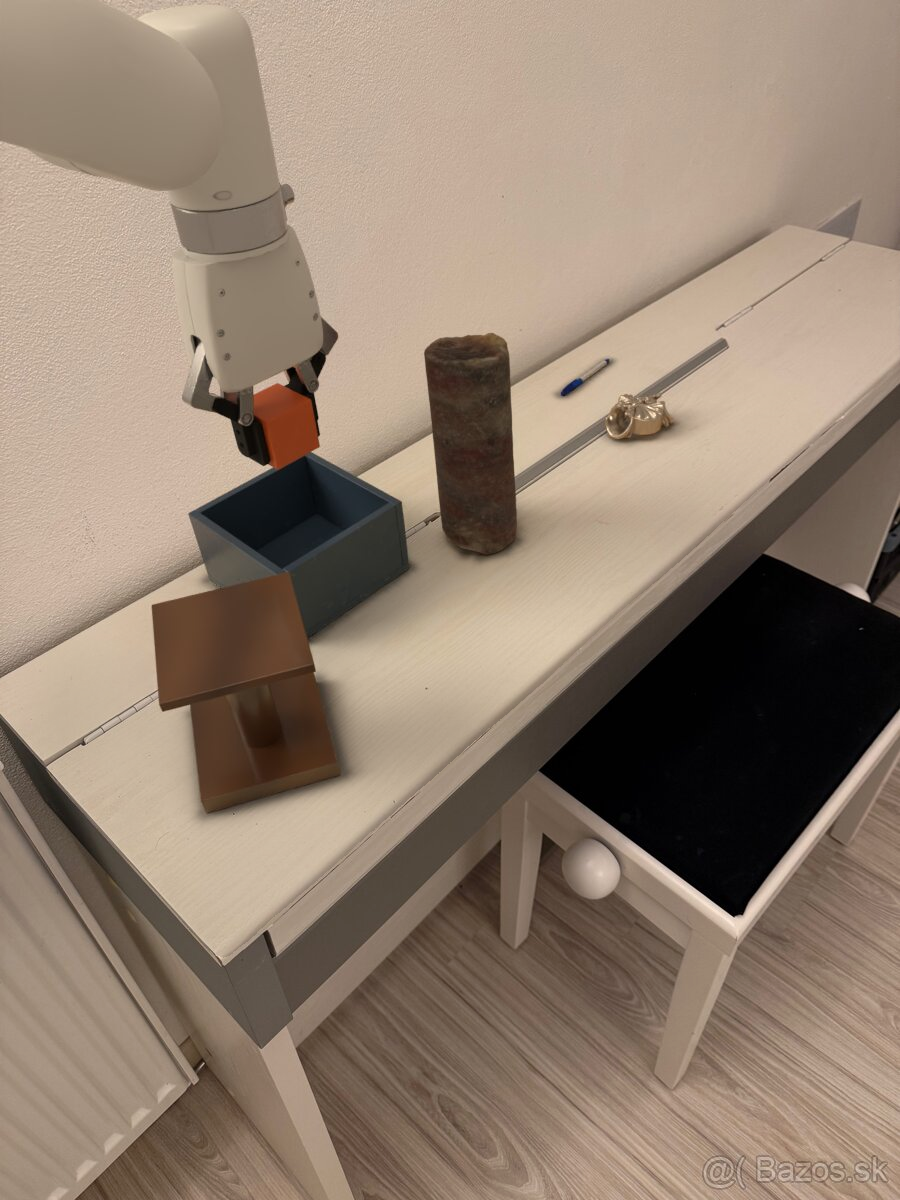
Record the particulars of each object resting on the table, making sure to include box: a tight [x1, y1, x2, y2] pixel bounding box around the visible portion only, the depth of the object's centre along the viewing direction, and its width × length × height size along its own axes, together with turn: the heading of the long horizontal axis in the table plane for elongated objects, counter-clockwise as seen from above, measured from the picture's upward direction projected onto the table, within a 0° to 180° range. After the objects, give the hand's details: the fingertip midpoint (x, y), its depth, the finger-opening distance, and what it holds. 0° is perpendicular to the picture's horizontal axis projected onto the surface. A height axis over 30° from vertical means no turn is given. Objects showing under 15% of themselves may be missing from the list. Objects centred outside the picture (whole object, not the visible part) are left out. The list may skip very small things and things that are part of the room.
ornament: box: [604, 392, 675, 440], centre depth 96 cm, size 8×7×4 cm
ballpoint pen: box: [560, 358, 610, 397], centre depth 107 cm, size 10×1×1 cm, turn 142°
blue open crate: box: [187, 451, 411, 639], centre depth 79 cm, size 14×14×8 cm
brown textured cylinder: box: [423, 332, 518, 555], centre depth 78 cm, size 8×7×20 cm
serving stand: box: [151, 572, 341, 814], centre depth 63 cm, size 10×10×12 cm
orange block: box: [253, 382, 321, 470], centre depth 71 cm, size 4×4×4 cm
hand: (281, 443), depth 72 cm, fingers closed on orange block, 4 cm apart
